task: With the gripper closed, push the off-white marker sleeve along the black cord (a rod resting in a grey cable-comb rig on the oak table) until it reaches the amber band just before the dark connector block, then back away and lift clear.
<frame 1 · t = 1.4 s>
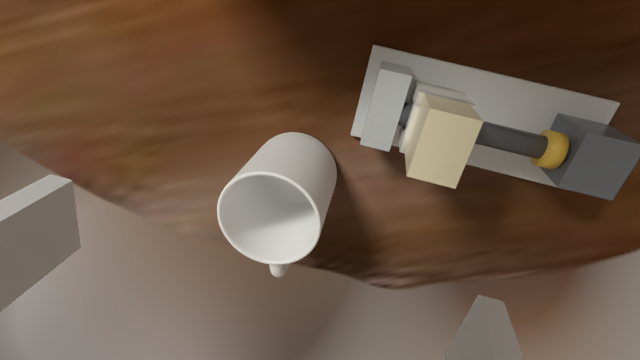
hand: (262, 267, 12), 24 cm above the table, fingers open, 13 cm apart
cup: (298, 184, 39), on the table
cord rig: (473, 117, 33), on the table
sleeve: (435, 129, 27), point 7 cm above the table, slide at 0.0 cm
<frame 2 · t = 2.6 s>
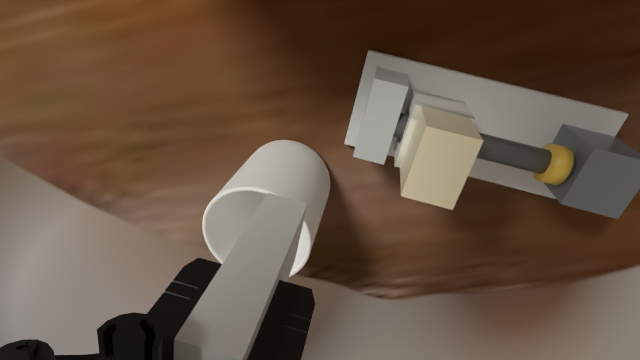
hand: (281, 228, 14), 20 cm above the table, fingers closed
cup: (290, 193, 37), on the table
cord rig: (473, 127, 31), on the table
sleeve: (433, 143, 25), point 7 cm above the table, slide at 0.0 cm
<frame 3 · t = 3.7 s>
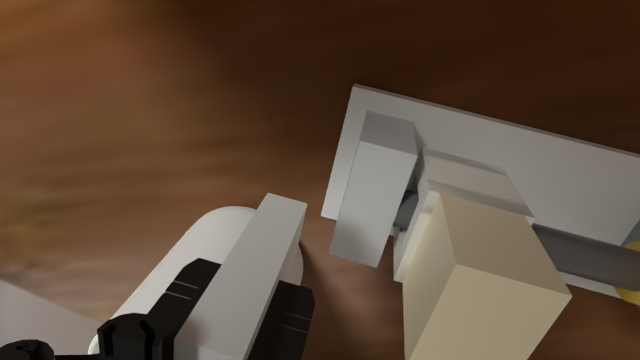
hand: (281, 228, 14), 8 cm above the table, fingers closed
cup: (250, 272, 27), on the table
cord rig: (511, 197, 21), on the table
sleeve: (458, 248, 15), point 7 cm above the table, slide at 0.0 cm
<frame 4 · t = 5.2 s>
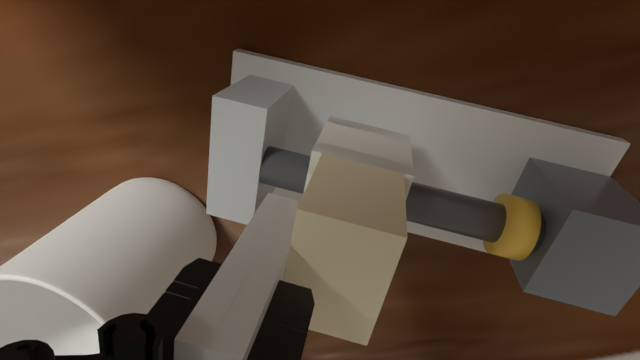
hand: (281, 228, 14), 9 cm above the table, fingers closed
cup: (171, 245, 27), on the table
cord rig: (401, 160, 21), on the table
sleeve: (349, 210, 15), point 7 cm above the table, slide at 1.7 cm, touching gripper
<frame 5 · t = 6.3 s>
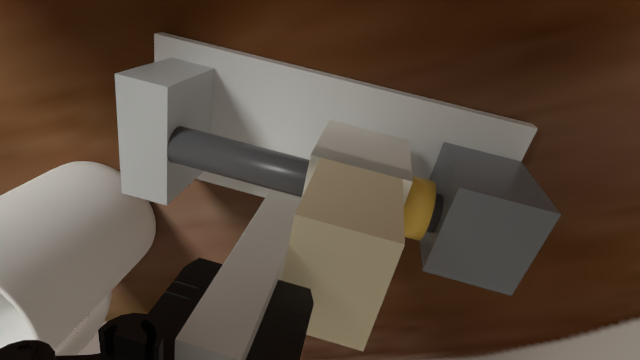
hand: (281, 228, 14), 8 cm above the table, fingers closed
cup: (113, 230, 28), on the table
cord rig: (325, 145, 21), on the table
sleeve: (347, 214, 15), point 7 cm above the table, slide at 6.1 cm, touching gripper
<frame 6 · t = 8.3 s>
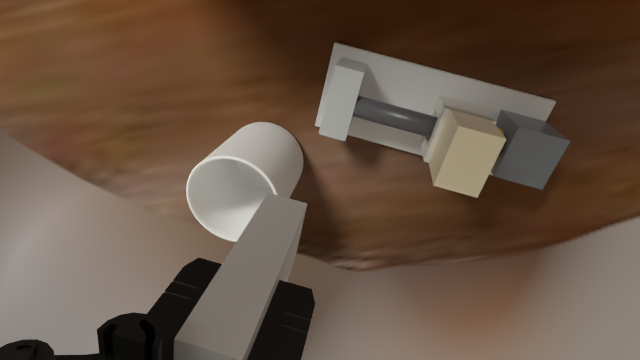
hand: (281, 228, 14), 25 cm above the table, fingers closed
cup: (268, 171, 41), on the table
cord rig: (426, 112, 35), on the table
sleeve: (458, 141, 29), point 7 cm above the table, slide at 6.0 cm
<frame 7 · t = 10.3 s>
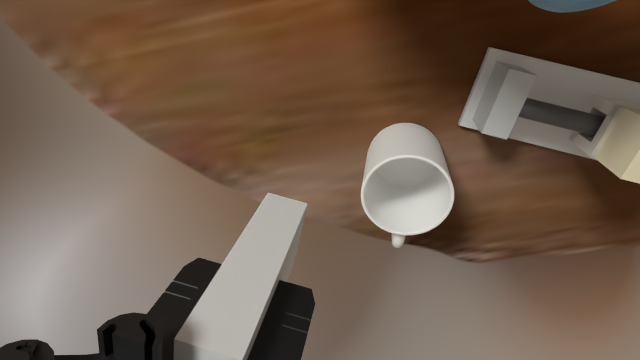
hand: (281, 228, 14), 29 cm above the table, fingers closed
cup: (401, 169, 44), on the table
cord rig: (570, 110, 38), on the table
sleeve: (627, 137, 32), point 7 cm above the table, slide at 6.0 cm
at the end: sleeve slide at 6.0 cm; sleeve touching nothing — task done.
